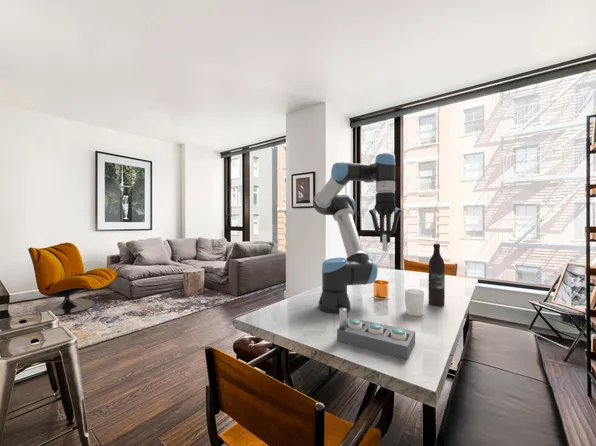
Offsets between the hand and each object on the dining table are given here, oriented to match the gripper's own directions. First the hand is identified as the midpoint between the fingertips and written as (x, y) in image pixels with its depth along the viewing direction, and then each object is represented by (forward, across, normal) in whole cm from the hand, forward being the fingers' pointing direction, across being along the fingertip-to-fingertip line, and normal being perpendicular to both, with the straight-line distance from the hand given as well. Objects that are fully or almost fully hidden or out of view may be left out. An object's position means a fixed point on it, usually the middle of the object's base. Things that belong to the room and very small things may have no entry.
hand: (385, 250), depth 108 cm
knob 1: (+29, -6, -19) cm, 35 cm away
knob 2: (+29, +10, -19) cm, 36 cm away
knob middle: (+29, +2, -19) cm, 35 cm away
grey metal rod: (+25, -8, -24) cm, 36 cm away
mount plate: (+29, +2, -19) cm, 35 cm away
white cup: (+30, +8, +18) cm, 36 cm away
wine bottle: (+30, +15, +37) cm, 50 cm away
